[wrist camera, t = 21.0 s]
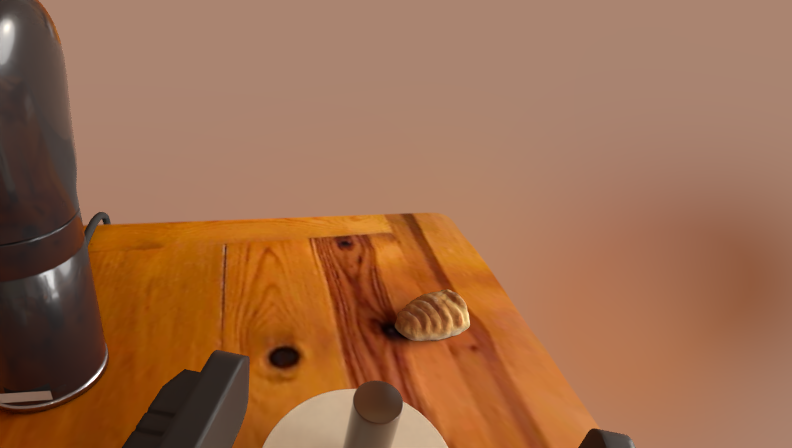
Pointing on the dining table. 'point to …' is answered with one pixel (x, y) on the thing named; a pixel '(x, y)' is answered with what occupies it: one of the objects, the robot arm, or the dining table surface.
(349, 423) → the lid
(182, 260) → the dining table surface
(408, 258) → the dining table surface
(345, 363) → the dining table surface
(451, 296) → the pastry
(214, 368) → the robot arm
